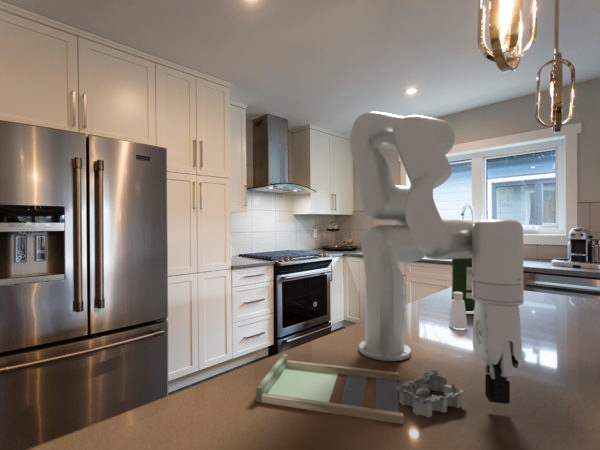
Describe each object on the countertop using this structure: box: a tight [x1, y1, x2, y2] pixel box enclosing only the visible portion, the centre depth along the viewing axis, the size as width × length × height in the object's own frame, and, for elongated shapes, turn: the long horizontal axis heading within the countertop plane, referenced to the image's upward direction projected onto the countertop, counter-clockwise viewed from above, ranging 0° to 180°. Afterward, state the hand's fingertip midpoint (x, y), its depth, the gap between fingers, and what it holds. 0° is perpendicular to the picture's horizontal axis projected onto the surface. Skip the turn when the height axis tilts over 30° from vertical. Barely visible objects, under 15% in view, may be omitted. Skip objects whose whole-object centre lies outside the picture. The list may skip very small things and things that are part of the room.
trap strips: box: [339, 374, 400, 413], centre depth 61 cm, size 14×10×1 cm
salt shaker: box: [448, 292, 468, 328], centre depth 101 cm, size 5×5×11 cm
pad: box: [268, 367, 339, 402], centre depth 64 cm, size 14×12×1 cm
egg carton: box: [395, 369, 466, 418], centre depth 58 cm, size 11×8×4 cm
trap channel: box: [255, 353, 404, 425], centre depth 63 cm, size 16×25×2 cm, turn 75°
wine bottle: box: [451, 258, 475, 311], centre depth 120 cm, size 8×8×30 cm
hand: (497, 400), depth 55 cm, fingers closed
